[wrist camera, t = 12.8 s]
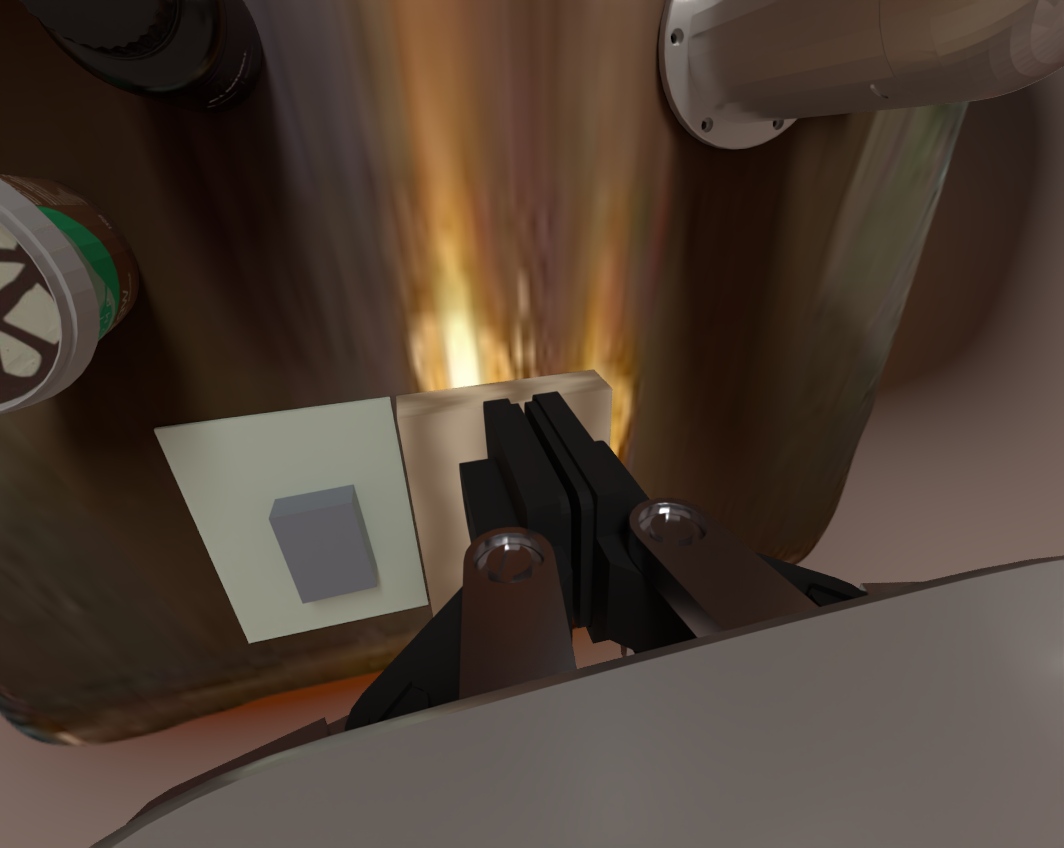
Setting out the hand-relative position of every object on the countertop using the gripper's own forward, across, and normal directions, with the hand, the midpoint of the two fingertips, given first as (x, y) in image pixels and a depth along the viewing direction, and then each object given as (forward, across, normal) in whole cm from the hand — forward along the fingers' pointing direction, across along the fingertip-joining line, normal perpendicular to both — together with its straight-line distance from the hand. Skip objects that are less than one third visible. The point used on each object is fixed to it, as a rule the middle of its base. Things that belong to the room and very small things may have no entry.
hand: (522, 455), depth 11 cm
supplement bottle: (+27, +11, -12) cm, 32 cm away
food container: (+27, +20, 0) cm, 34 cm away
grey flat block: (+24, +11, +22) cm, 35 cm away
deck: (+27, -4, +21) cm, 35 cm away
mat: (+27, +12, +21) cm, 36 cm away
